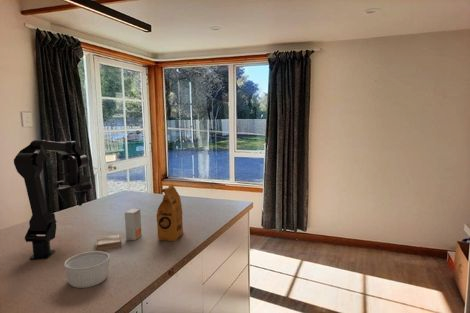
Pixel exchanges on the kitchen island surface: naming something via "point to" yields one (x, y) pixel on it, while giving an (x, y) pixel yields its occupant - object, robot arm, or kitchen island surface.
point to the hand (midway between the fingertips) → (73, 204)
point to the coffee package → (170, 215)
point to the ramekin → (87, 268)
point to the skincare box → (133, 224)
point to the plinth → (108, 242)
